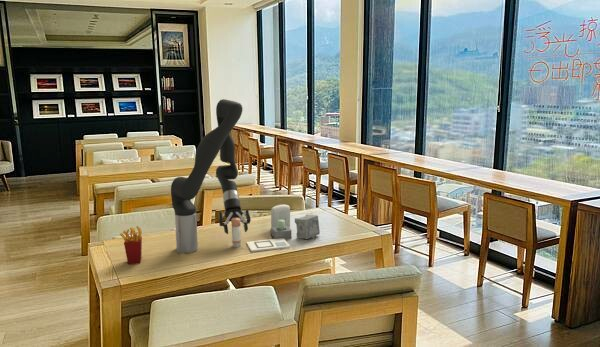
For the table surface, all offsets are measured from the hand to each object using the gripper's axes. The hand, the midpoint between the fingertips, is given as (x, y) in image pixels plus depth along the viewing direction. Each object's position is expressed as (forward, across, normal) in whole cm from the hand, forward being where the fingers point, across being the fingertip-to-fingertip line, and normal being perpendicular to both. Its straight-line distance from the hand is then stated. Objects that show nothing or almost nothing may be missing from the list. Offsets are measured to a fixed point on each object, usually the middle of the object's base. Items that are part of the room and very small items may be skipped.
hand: (236, 232), depth 214 cm
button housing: (0, +23, +10) cm, 25 cm away
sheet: (+7, +14, +3) cm, 16 cm away
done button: (-1, +23, +8) cm, 24 cm away
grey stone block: (+3, +35, +7) cm, 36 cm away
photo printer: (-8, +26, +19) cm, 33 cm away
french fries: (+7, -45, +3) cm, 46 cm away
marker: (+4, 0, +6) cm, 7 cm away
